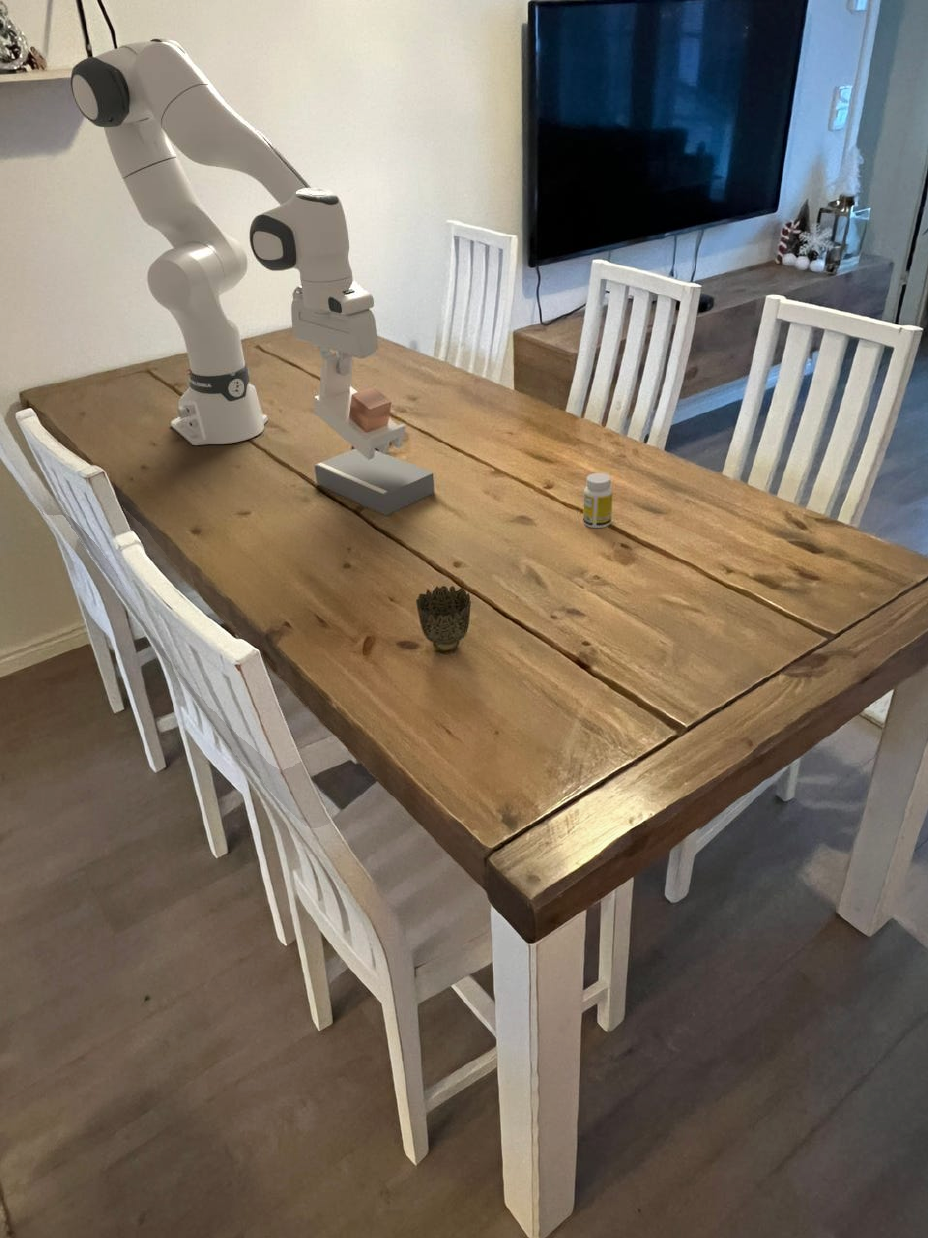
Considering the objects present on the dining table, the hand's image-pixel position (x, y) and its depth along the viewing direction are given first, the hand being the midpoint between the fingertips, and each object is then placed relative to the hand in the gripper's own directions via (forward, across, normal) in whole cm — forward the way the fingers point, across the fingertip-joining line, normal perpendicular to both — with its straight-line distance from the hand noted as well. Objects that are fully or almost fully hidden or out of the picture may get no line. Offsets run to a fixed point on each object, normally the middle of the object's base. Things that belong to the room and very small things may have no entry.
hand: (337, 372), depth 163 cm
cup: (+21, +54, -27) cm, 64 cm away
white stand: (+10, +4, 0) cm, 11 cm away
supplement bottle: (+21, +47, +16) cm, 54 cm away
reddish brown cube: (+7, +7, 0) cm, 10 cm away
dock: (+21, +7, 0) cm, 22 cm away
